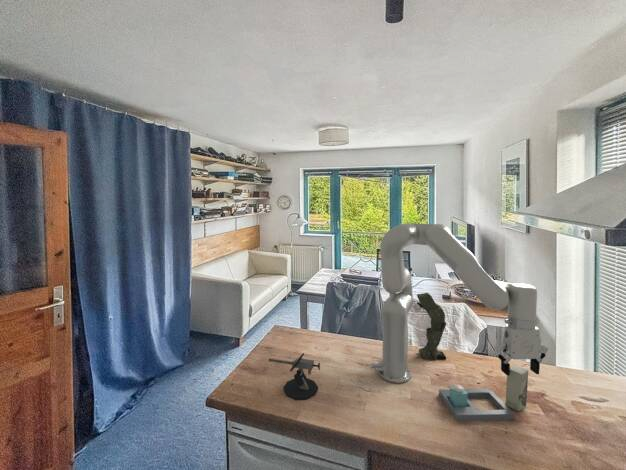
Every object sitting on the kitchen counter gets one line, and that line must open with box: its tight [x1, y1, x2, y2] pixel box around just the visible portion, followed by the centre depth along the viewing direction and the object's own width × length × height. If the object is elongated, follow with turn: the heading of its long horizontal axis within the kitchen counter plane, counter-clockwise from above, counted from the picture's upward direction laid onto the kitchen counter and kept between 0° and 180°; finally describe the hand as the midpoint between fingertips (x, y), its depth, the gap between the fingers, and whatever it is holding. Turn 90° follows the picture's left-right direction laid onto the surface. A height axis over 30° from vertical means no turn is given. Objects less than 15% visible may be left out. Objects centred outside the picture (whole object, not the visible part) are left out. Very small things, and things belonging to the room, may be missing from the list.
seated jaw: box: [449, 384, 469, 407], centre depth 100 cm, size 4×4×7 cm
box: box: [504, 364, 529, 412], centre depth 100 cm, size 5×4×13 cm
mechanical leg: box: [416, 292, 447, 361], centre depth 133 cm, size 14×7×30 cm, turn 84°
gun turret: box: [268, 352, 321, 401], centre depth 111 cm, size 13×20×13 cm, turn 73°
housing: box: [438, 388, 515, 422], centre depth 101 cm, size 18×13×2 cm
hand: (519, 372), depth 100 cm, fingers open, 9 cm apart
